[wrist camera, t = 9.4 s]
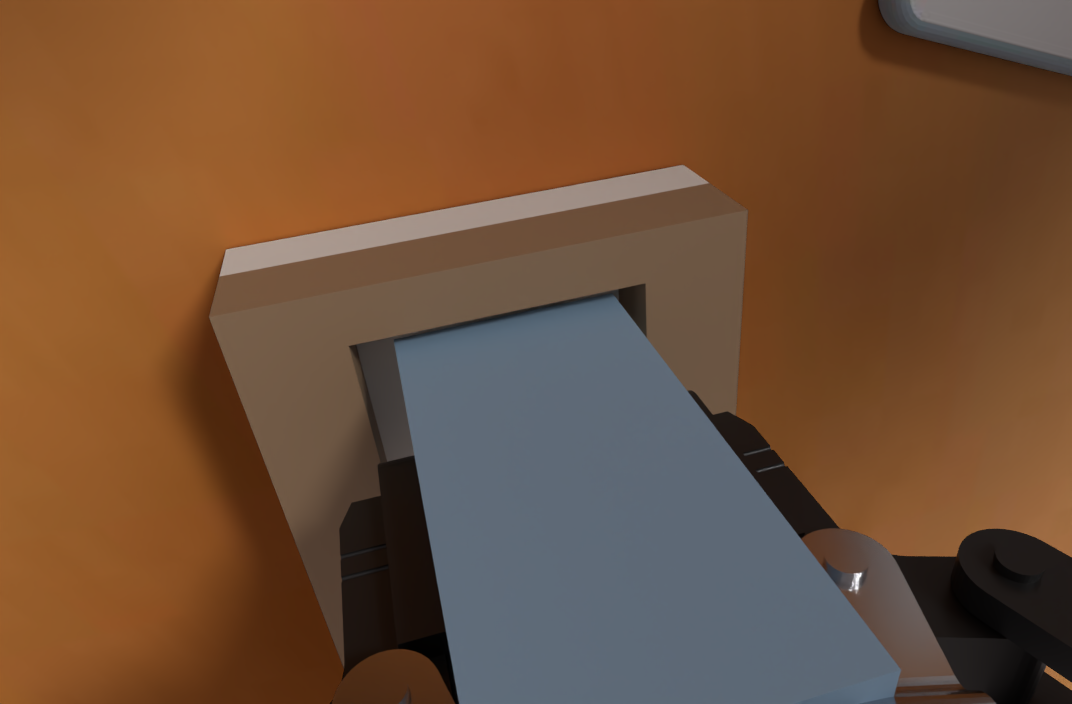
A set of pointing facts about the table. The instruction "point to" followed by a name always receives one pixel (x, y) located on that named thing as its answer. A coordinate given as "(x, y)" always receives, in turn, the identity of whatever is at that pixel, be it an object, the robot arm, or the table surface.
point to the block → (611, 529)
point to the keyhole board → (458, 321)
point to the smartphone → (991, 27)
